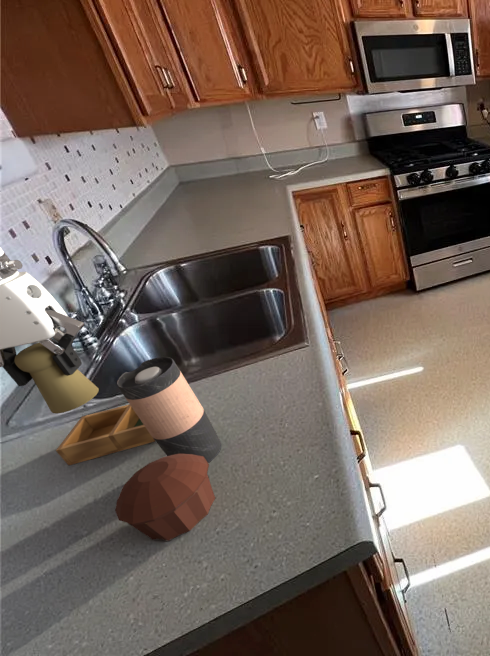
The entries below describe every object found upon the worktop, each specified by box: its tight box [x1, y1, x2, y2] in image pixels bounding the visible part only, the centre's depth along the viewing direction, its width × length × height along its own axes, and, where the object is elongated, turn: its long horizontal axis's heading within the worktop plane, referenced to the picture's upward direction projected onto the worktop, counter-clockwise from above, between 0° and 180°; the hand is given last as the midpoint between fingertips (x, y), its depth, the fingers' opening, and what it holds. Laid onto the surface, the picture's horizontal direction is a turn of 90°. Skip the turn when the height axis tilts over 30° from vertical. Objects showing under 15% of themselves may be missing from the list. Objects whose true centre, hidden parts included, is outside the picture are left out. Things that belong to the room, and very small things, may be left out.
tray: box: [55, 403, 156, 466], centre depth 81 cm, size 16×9×4 cm, turn 109°
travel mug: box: [116, 356, 222, 464], centre depth 71 cm, size 8×8×20 cm
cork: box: [15, 342, 100, 415], centre depth 66 cm, size 6×6×11 cm
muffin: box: [114, 454, 216, 542], centre depth 64 cm, size 12×11×10 cm
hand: (51, 374), depth 66 cm, fingers closed on cork, 5 cm apart
